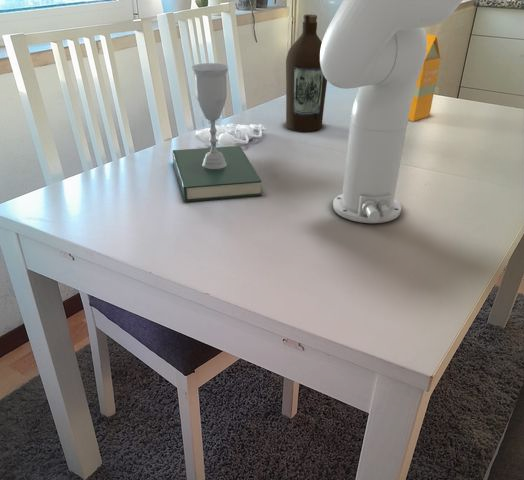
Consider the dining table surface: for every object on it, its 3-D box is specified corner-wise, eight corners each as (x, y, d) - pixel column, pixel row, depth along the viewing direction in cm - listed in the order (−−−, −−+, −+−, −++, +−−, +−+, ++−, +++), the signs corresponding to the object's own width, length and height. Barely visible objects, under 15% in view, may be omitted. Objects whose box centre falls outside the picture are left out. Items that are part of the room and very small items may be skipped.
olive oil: (282, 120, 146) (286, 11, 130) (321, 120, 146) (329, 12, 130) (285, 132, 137) (289, 18, 122) (326, 132, 138) (336, 18, 122)
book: (261, 195, 106) (261, 180, 104) (184, 202, 103) (183, 186, 101) (240, 159, 122) (240, 145, 120) (173, 163, 119) (172, 150, 117)
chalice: (229, 171, 108) (227, 71, 97) (195, 170, 108) (189, 71, 97) (232, 158, 114) (229, 63, 102) (199, 158, 114) (194, 62, 102)
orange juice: (403, 109, 156) (416, 29, 143) (429, 116, 151) (445, 34, 138) (387, 114, 152) (399, 32, 139) (413, 121, 147) (428, 37, 134)
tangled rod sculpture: (235, 129, 143) (234, 112, 140) (280, 135, 135) (279, 118, 133) (184, 146, 130) (182, 128, 128) (231, 154, 123) (229, 134, 120)
